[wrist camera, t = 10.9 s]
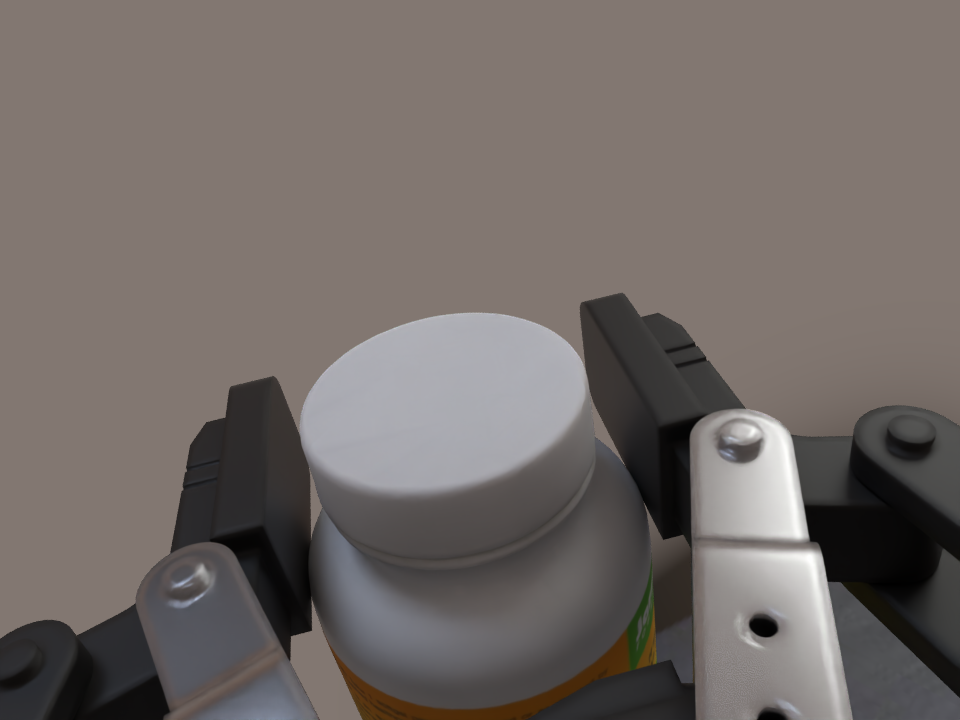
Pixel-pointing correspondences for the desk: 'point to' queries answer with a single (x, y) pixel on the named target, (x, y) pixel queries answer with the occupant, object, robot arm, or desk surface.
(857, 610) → the desk surface
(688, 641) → the desk surface
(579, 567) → the supplement bottle
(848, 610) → the desk surface
